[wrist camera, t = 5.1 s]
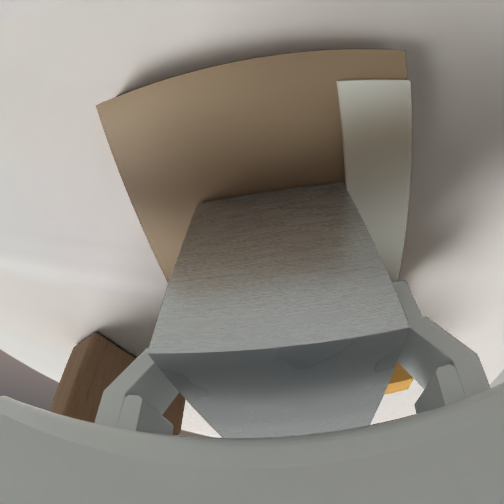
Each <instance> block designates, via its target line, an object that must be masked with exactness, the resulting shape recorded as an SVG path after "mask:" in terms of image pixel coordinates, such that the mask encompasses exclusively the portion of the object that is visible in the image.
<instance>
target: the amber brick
mask: <svg viewBox="0 0 504 504" xmlns="http://www.w3.org/2000/svg"><path fill="white" fill-rule="evenodd" d="M413 379H414V378H413V377H412V376H411V375H410V374H409V373H408V372H407V371H406V370H405V369H404V368H403V367H402V366H401V365H400V364H399V363H398V362H397V364H396V366H395V369H394V372H393V374H392V376H391V379H390V381H389V384H388V386H387V388H386V391H385V393H384V394H389V393H394V392H398V391H402V390H406V389H408V388H409V386H410V384H411V383H412V381H413Z"/></svg>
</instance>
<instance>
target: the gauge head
mask: <svg viewBox="0 0 504 504" xmlns="http://www.w3.org/2000/svg"><path fill="white" fill-rule="evenodd" d="M408 330H409V325H408V322H407V319H406V317H405V314H404V311H403V309H402V306H401V304H400V301H399V299H398V296H397V294H396V291H395V289H394V286H393V284H392V282H391V279H390V277H389V275H388V272H387V270H386V268H385V265H384V263H383V261H382V259H381V257H380V254H379V252H378V250H377V248H376V246H375V244H374V241H373V239H372V237H371V235H370V233H369V231H368V229H367V227H366V225H365V223H364V221H363V219H362V217H361V215H360V213H359V211H358V209H357V207H356V205H355V203H354V201H353V199H352V197H351V196H350V194H349V192H348V190H347V188H346V186H345V184H344V183H343V182H338V183H330V184H321V185H313V186H305V187H298V188H290V189H283V190H276V191H269V192H263V193H256V194H250V195H243V196H237V197H231V198H225V199H219V200H213V201H208V202H202V203H197V206H196V208H195V211H194V214H193V216H192V219H191V222H190V224H189V227H188V230H187V233H186V235H185V238H184V241H183V244H182V246H181V249H180V252H179V255H178V258H177V261H176V264H175V266H174V269H173V272H172V275H171V278H170V281H169V284H168V287H167V290H166V293H165V296H164V300H163V303H162V306H161V309H160V312H159V315H158V319H157V322H156V325H155V329H154V332H153V335H152V339H151V342H150V345H149V349H148V352H147V354H148V355H149V356H150V358H151V359H152V360H153V361H154V363H155V364H156V365H157V366H158V368H159V369H160V370H161V371H162V372H163V374H164V375H165V376H166V377H167V378H168V380H169V381H170V382H171V383H172V384H173V385H174V387H175V388H176V389H177V390H178V391H179V392H180V393H181V395H182V396H183V397H184V398H185V399H186V400H187V401H188V402H189V403H190V404H191V406H192V407H193V408H194V409H195V410H196V411H197V412H198V413H199V414H200V415H201V416H202V417H203V418H204V419H205V420H206V421H207V422H208V423H209V425H210V426H211V427H212V428H213V429H214V430H215V431H216V432H217V433H218V434H219V435H220V436H222V437H223V438H264V437H283V436H296V435H307V434H316V433H324V432H332V431H338V430H345V429H351V428H357V427H362V426H368V425H370V423H371V421H372V419H373V417H374V415H375V413H376V411H377V409H378V406H379V404H380V402H381V400H382V398H383V395H384V393H385V391H386V388H387V386H388V384H389V381H390V379H391V376H392V374H393V372H394V369H395V366H396V364H397V361H398V359H399V356H400V353H401V350H402V348H403V345H404V342H405V339H406V336H407V333H408Z"/></svg>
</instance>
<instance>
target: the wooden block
mask: <svg viewBox="0 0 504 504" xmlns="http://www.w3.org/2000/svg"><path fill="white" fill-rule="evenodd" d="M135 359H136V358H135V357H134V356H132V355H130V354H129V353H127V352H126V351H124V350H123V349H121V348H120V347H118V346H117V345H115V344H114V343H112V342H111V341H109V340H108V339H106V338H105V337H103V336H102V335H100V334H99V333H93V334H92V335H90V336H89V337H88V338H86V339H85V340H83V341H82V342H81V343H79V344H78V345H76V346H75V347H74V348H73V351H72V353H71V355H70V358H69V360H68V363H67V365H66V367H65V370H64V373H63V375H62V378H61V380H60V383H59V386H58V389H57V391H56V394H55V397H54V399H53V402H52V405H51V408H50V412H53V413H57V414H60V415H64V416H67V417H71V418H75V419H79V420H83V421H88V422H92V423H94V422H95V419H96V415H97V412H98V408H99V405H100V402H101V398H102V395H103V392H104V390H105V389H106V388H107V387H108V386H109V385H110V384H111V383H112V382H113V381H114V380H115V379H116V378H117V377H118V376H119V375H120V374H121V373H122V372H123V371H124V370H125V369H126V368H127V367H128V366H129V365H130V364H131V363H132V362H133V361H134V360H135ZM184 405H185V398H184V397H183V396H182V395H181V393H180V392H179V393H178V395H177V396H176V397H175V399H174V400H173V401H172V403H171V404H170V405H169V407H168V408H167V409H166V411H165V412H164V413H163V415H162V416H163V417H164V418H166V419H167V420H168V421H169V422H170V423H172V425H173V426H174V427H173V434H172V435H179V433H180V431H181V424H182V418H183V411H184Z"/></svg>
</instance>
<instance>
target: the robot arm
mask: <svg viewBox="0 0 504 504" xmlns="http://www.w3.org/2000/svg"><path fill="white" fill-rule="evenodd" d="M392 284H393V286H394V289H395V291H396V294H397V296H398V299H399V301H400V304H401V306H402V309H403V311H404V314H405V317H406V319H407V322H408V325H409V330H408V333H407V336H406V339H405V342H404V345H403V348H402V350H401V353H400V356H399V359H398V361H397V362H398V363H399V364H400V365H401V366H402V367H403V368H404V369H405V370H406V371H407V372H408V373H409V374H410V375H411V376H412V377H413V378H414V379H415V380H416V381H417V382H418V383H419V384H420V385H421V386H422V387H423V388H424V389H425V390H424V391H423V393H422V394H421V396H420V397H419V399H418V400H417V402H416V403H415V409H416V414H415V415H411V416H407V417H403V418H399V419H395V420H391V421H387V422H382V423H377V424H373V425H368V426H362V427H357V428H351V429H345V430H338V431H332V432H324V433H316V434H307V435H296V436H283V437H264V438H209V437H189V436H177V435H172V434H173V427H174V426H173V425H172V423H170V422H169V421H168V420H167V419H166V418H164V417H163V416H162V415H163V413H164V412H165V411H166V409H167V408H168V407H169V405H170V404H171V403H172V401H173V400H174V399H175V397H176V396H177V395H178V393H179V391H178V390H177V389H176V388H175V387H174V385H173V384H172V383H171V382H170V381H169V380H168V378H167V377H166V376H165V375H164V374H163V372H162V371H161V370H160V369H159V368H158V366H157V365H156V364H155V363H154V361H153V360H152V359H151V358H150V356H149V355H148V354H147V352H148V349H149V348H146V349H145V350H144V351H143V352H142V353H141V354H140V355H139V356H138V357H137V358H136V359H135V360H134V361H133V362H132V363H131V364H130V365H129V366H128V367H127V368H126V369H125V370H124V371H123V372H122V373H121V374H120V375H119V376H118V377H117V378H116V379H115V380H114V381H113V382H112V383H111V384H110V385H109V386H108V387H107V388H106V389H105V390H104V392H103V395H102V398H101V402H100V405H99V408H98V412H97V415H96V419H95V422H94V423H92V422H88V421H83V420H79V419H75V418H71V417H67V416H64V415H60V414H57V413H53V412H50V411H46V410H43V409H40V408H37V407H34V406H31V405H28V404H25V403H22V402H19V401H17V400H14V399H12V398H9V397H6V396H0V504H504V382H503V383H501V384H499V385H496V386H494V387H492V388H490V386H489V383H488V380H487V377H486V375H485V372H484V370H483V367H482V364H481V362H480V360H479V357H478V355H477V354H476V353H475V352H474V351H472V350H471V349H470V348H468V347H467V346H466V345H464V344H463V343H462V342H460V341H459V340H458V339H456V338H455V337H454V336H452V335H451V334H450V333H448V332H447V331H446V330H444V329H443V328H441V327H440V326H439V325H437V324H436V323H434V322H433V321H432V320H430V319H429V318H427V317H422V315H421V313H420V310H419V308H418V306H417V304H416V301H415V299H414V297H413V295H412V292H411V290H410V288H409V286H408V284H407V282H406V281H405V280H404V281H398V282H392Z"/></svg>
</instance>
